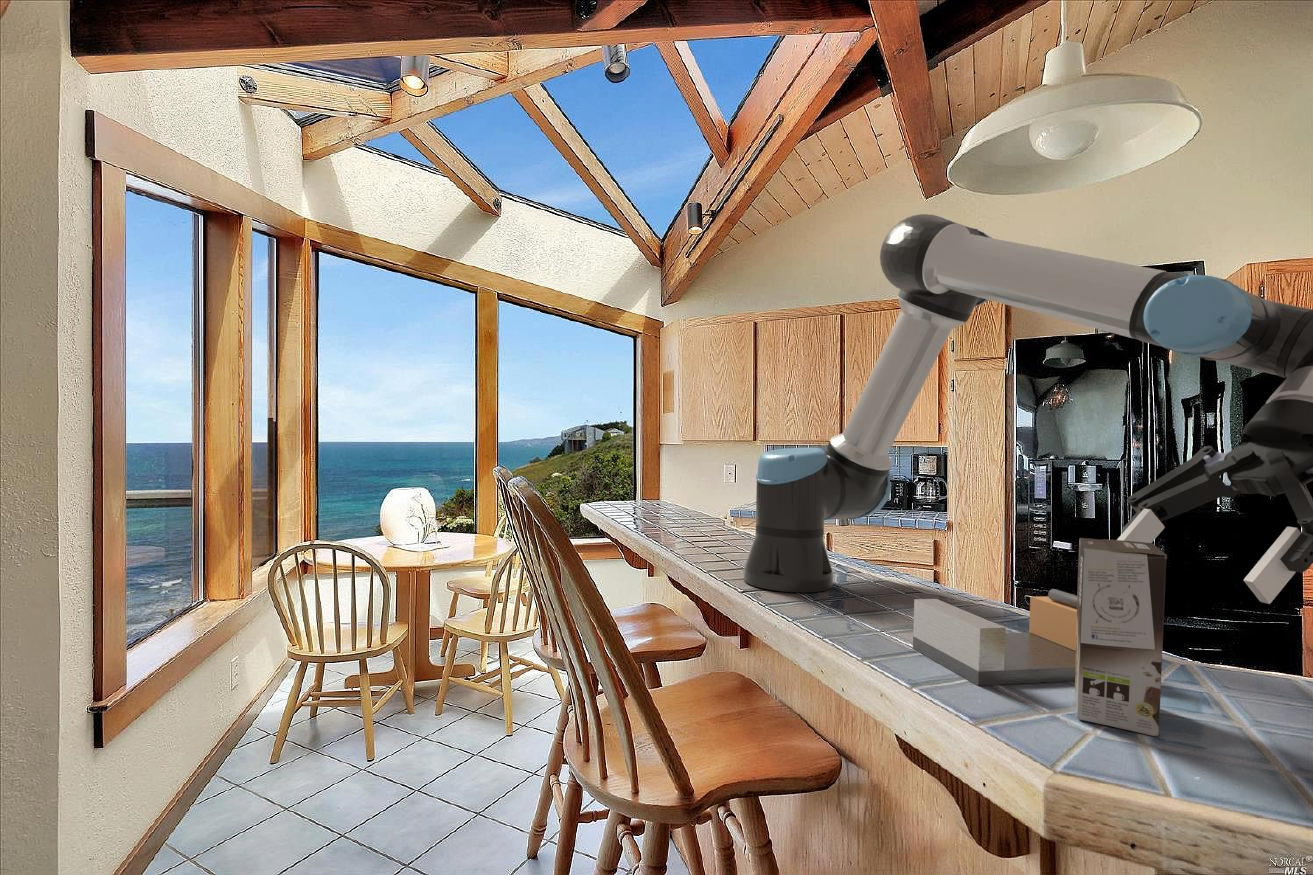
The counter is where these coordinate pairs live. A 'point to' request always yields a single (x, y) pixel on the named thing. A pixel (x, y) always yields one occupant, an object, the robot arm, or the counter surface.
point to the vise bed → (1016, 661)
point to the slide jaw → (1055, 617)
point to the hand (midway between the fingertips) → (1179, 575)
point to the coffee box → (1120, 634)
